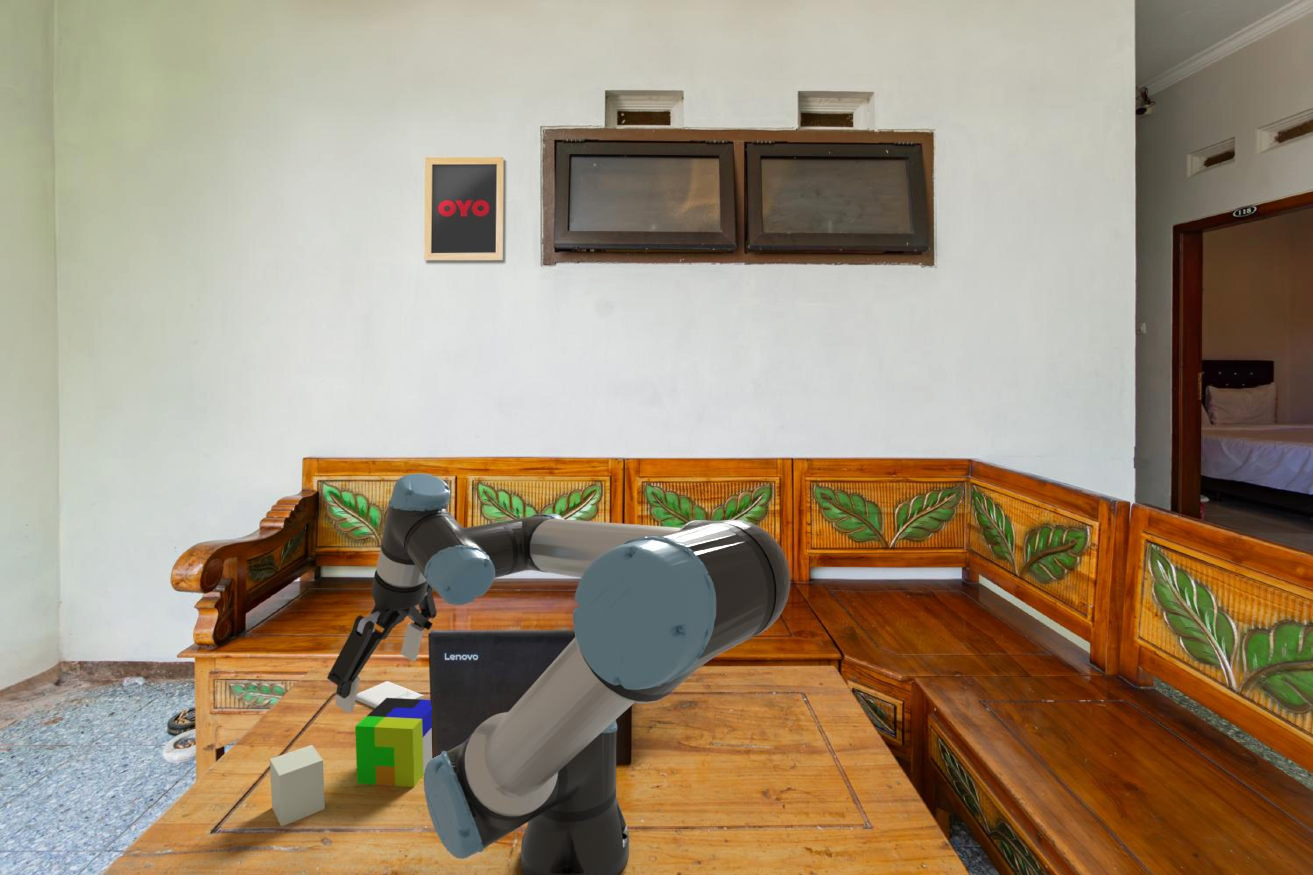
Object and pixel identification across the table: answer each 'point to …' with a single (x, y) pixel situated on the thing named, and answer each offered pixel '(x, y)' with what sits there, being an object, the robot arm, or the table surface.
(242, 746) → the table surface
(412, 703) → the puzzle toy
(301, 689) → the table surface
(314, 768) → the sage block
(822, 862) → the table surface
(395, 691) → the external hard drive
